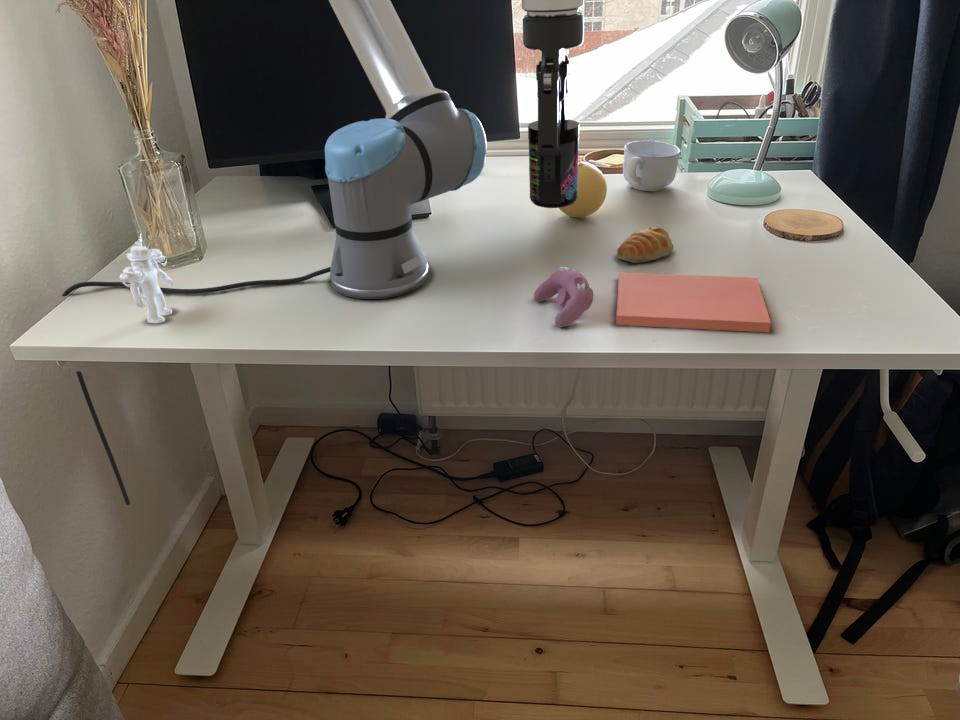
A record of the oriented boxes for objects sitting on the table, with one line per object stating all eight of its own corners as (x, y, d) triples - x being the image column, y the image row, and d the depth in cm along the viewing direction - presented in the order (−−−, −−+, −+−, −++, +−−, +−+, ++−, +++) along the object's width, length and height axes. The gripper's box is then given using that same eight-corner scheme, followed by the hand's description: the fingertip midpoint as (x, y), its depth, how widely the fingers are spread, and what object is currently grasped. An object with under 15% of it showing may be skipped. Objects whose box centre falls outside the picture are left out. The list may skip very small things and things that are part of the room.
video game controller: (581, 335, 104) (604, 291, 102) (554, 327, 102) (577, 282, 100) (555, 305, 112) (576, 263, 110) (529, 297, 110) (550, 254, 108)
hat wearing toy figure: (163, 302, 115) (141, 228, 109) (186, 303, 114) (166, 228, 108) (130, 331, 108) (105, 253, 101) (155, 332, 107) (131, 254, 101)
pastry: (637, 269, 118) (639, 247, 116) (605, 257, 123) (606, 235, 121) (676, 253, 123) (678, 231, 121) (644, 242, 128) (645, 220, 126)
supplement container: (553, 213, 101) (553, 133, 95) (519, 201, 105) (517, 125, 100) (588, 200, 104) (590, 123, 99) (553, 190, 109) (553, 116, 104)
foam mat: (615, 325, 103) (616, 315, 103) (618, 281, 115) (619, 272, 114) (769, 332, 100) (771, 322, 99) (756, 286, 112) (757, 277, 111)
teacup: (643, 174, 158) (646, 136, 154) (687, 185, 151) (691, 145, 147) (600, 191, 150) (602, 151, 146) (645, 203, 143) (648, 162, 139)
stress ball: (600, 205, 144) (603, 152, 139) (609, 224, 135) (612, 169, 130) (548, 207, 144) (548, 155, 139) (554, 226, 135) (555, 171, 130)
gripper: (577, 21, 84) (574, 220, 95) (589, 2, 100) (586, 173, 112) (510, 23, 85) (516, 218, 97) (533, 4, 102) (536, 173, 113)
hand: (553, 194), depth 104 cm, fingers closed on supplement container, 7 cm apart
